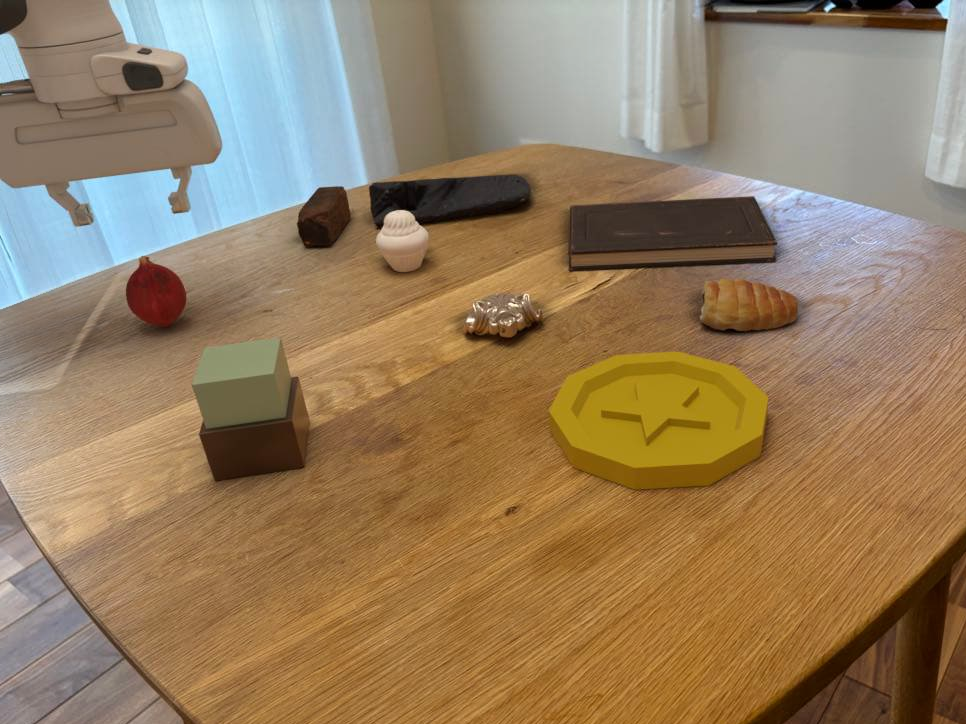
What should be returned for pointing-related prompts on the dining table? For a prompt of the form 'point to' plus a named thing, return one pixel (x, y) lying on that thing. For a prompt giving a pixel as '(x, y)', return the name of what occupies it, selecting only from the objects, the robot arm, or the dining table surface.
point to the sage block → (242, 383)
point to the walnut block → (260, 442)
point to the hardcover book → (669, 234)
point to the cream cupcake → (402, 241)
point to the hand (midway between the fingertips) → (134, 217)
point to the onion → (155, 294)
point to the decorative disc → (659, 420)
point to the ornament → (501, 315)
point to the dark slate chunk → (447, 197)
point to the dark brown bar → (323, 216)
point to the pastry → (746, 305)
